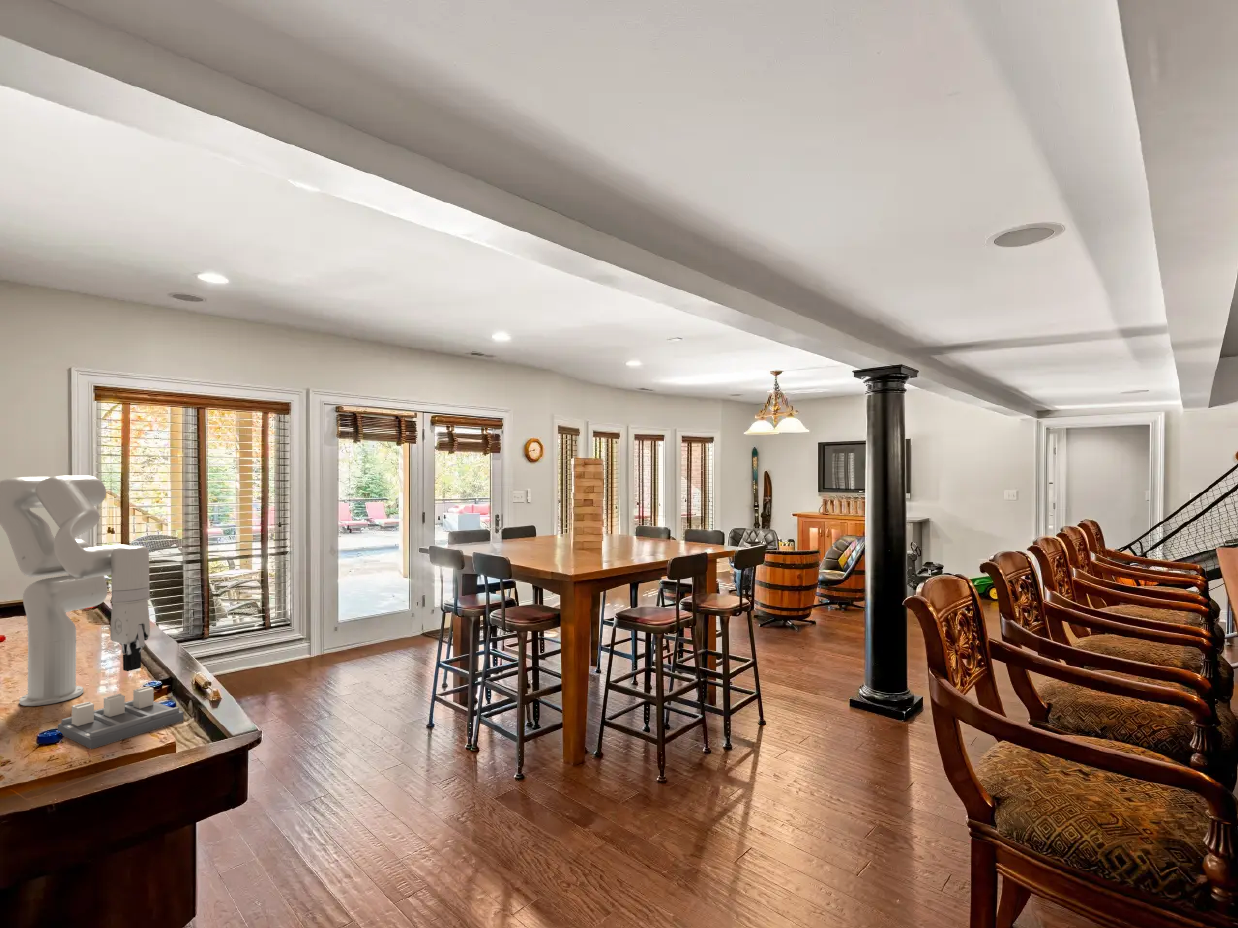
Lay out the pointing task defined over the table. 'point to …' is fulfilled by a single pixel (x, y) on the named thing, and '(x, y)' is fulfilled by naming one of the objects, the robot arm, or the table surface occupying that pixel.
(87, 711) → the tab
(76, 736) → the switch bank
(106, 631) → the table surface
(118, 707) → the tab
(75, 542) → the robot arm
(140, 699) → the tab
